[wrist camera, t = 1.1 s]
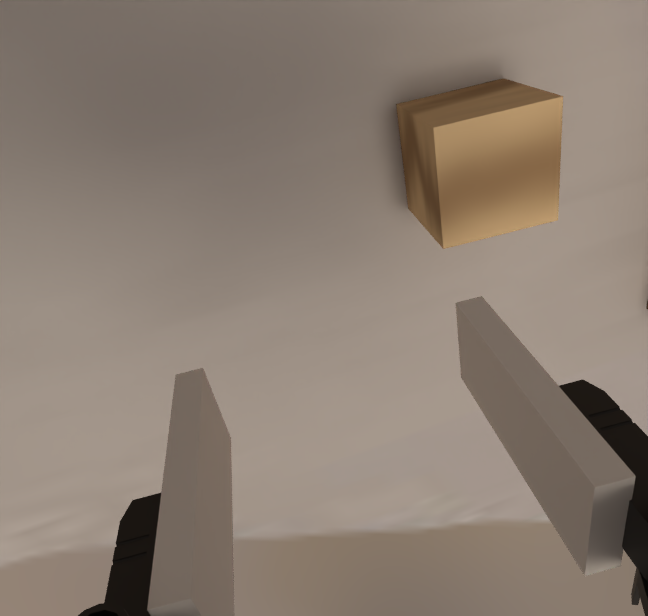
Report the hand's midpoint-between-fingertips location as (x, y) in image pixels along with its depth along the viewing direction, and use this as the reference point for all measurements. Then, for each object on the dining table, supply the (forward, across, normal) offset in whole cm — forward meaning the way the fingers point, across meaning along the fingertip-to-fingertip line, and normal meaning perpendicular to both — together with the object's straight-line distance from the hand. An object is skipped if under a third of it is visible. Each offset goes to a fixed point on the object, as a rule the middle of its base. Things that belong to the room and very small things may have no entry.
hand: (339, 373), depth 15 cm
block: (+17, +10, 0) cm, 20 cm away
